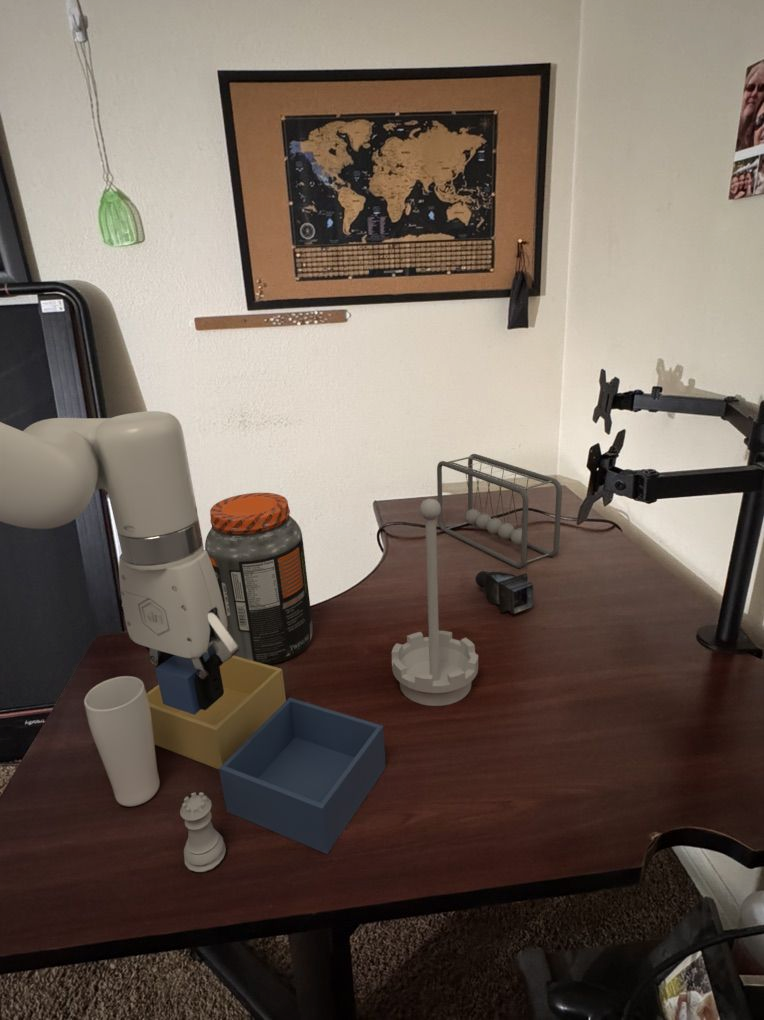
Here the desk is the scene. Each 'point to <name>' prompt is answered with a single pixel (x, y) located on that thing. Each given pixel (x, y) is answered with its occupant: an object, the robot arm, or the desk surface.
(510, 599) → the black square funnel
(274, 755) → the slate bin
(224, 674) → the yellow bin
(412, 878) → the desk surface
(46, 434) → the robot arm
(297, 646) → the supplement tub
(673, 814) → the desk surface
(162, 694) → the blue block
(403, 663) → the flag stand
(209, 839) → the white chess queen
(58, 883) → the desk surface
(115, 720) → the drinking glass
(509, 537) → the newton's cradle
